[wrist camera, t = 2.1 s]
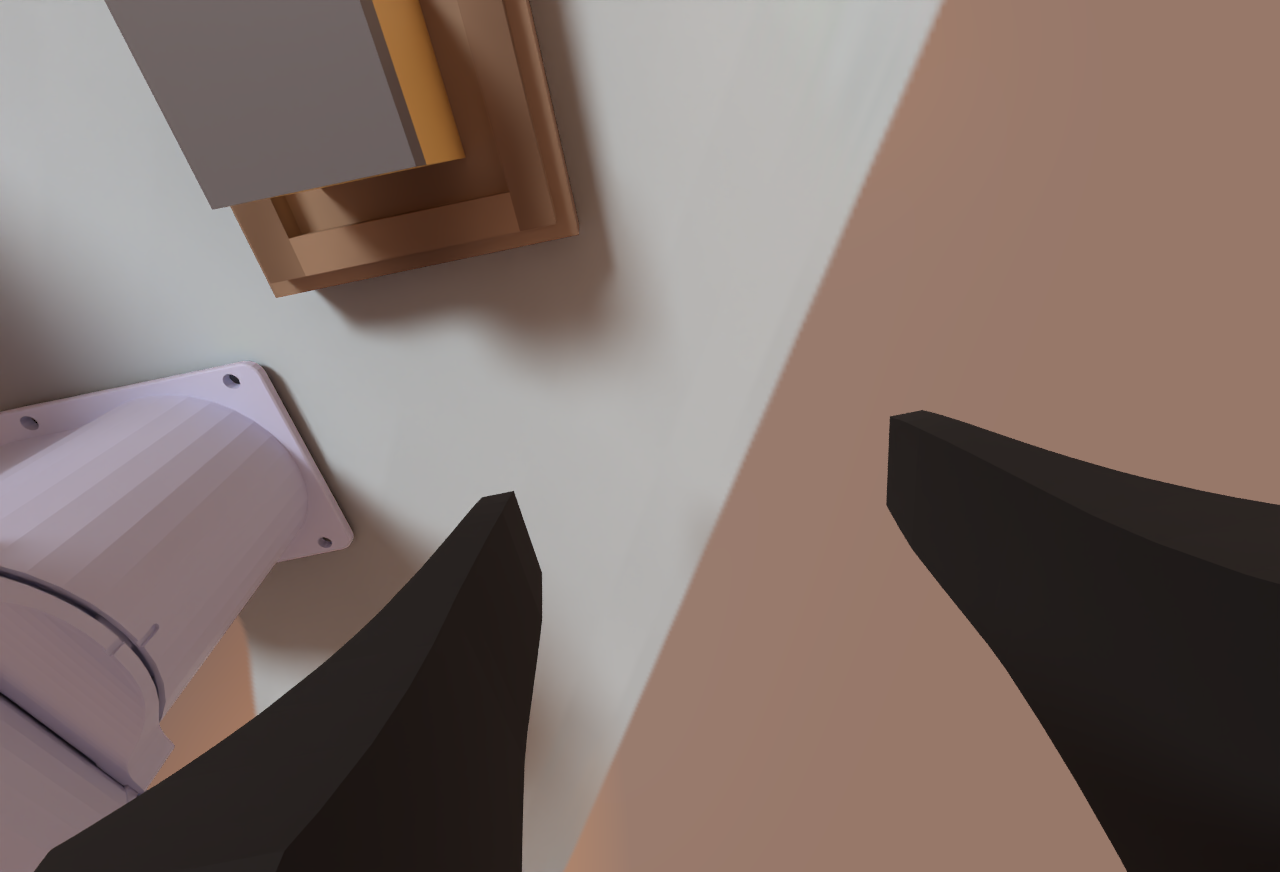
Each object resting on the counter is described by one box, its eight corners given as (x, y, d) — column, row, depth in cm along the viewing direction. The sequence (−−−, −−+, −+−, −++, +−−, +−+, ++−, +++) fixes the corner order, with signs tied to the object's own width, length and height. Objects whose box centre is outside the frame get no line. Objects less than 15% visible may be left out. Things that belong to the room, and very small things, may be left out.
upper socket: (306, 282, 18) (261, 304, 16) (136, -80, 14) (39, -127, 11) (579, 224, 18) (578, 239, 16) (493, -158, 14) (472, -223, 11)
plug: (320, 188, 15) (213, 209, 11) (243, 6, 13) (74, -58, 9) (465, 157, 15) (416, 166, 11) (409, -30, 13) (321, -112, 9)
